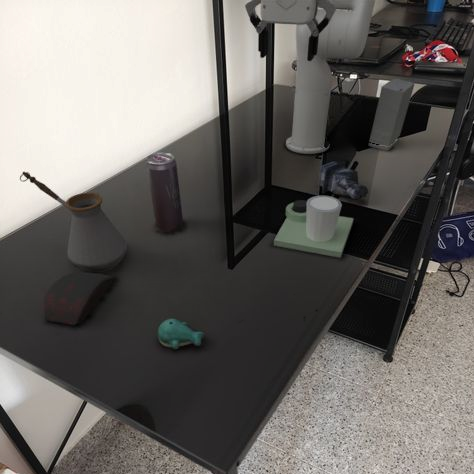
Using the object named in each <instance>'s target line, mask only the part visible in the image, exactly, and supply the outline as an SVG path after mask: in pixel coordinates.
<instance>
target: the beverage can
mask: <svg viewBox="0 0 474 474" xmlns="http://www.w3.org/2000/svg"><path fill="white" fill-rule="evenodd" d="M145 161H146V162H145V166H146V173H147V180H148V185H149V190H150V197H151V203H152V209H153V216H154V220H155V221H154V222H155V227H156V228H157V229H158V231H160V232H161V233H162V232H163V233H169V234H170V233H175V232H177V231H179V230H181V229H182V227H183V225H184V218H183V210H182V208H183V207H182V201H181V193H180V184H179V174H178V165H177V161H176V157H175V155H174V154H173V153H170V152H155V153H152V154H149V155H148V156H147V157H146V158H145Z"/></svg>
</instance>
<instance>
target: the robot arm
mask: <svg viewBox="0 0 474 474" xmlns="http://www.w3.org/2000/svg"><path fill="white" fill-rule="evenodd" d="M375 3H376V0H249V1H248V2H246V3H245V4H244V8H245V10H246V13H247V16H248V18H249V21H250V24H252V26H253V27H254V28H255V30H256V34H257V35H258V37H257V39H258V40H257V42H258V44H257V50H258V52H259V57H260V59H263V58H265V57H267V56H268V55H269V36H270V35H269V34H270V33H269V30H268V29H267V28H268V27H269V25H270V24H280V25H296V26H295V49H296V71H295V72H296V75H295V88H294V100H293V101H294V103H293V115H292V127H291V128H292V129H291V136H290V137H288V138H287V139H286V141H285V146H286V148H287V149H288V150H289V151H291V152H294V153H297V154H305V155H316V154H320V153H324V152H327V150H328V149H329V148H330V144H329V146H328V147H327V148H325V147H324V141H325V138H326V134H327V133H326V132H327V125H328V116H329V109H330V101H331V92H332V86H333V75H332V70H331V68H330V66H329V64H328V62H327V59H337V60H338V59H341V60H355V59H358V58H360V57H361V55H362V54H363V52H364V51H365V47H366V45H367V40H368V36H369V30H370V26H371V22H372V17H373V12H374V8H375ZM259 5H260V17H259V16H258V14H257V11H256V8H257V7H258V6H259Z"/></svg>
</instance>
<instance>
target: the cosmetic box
mask: <svg viewBox="0 0 474 474" xmlns="http://www.w3.org/2000/svg"><path fill="white" fill-rule="evenodd" d="M414 88H415V82H412V81H407V80H403V79H399V78H392V79H391V80H389V81H388V82H386V83H385V84H383V85H382V86H381V89H380V93H379V97H378V102H377V106H376V110H375V113H374V114H375V115H374V118H373V124H372V128H371V132H370V137H369V139H368V147H370V148H371V147H372V148H375V149H379V150H382V151H387V152H388V151H389V150H390V149H392V148H393V147H394V146H395V145H396V144H397V143H398V142H399V139H400V137H399V136H401V133H402V130H403V125H404V122H405V120H406V115H407V112H408V109H409V105H410V102H411V98H412V95H413V92H414ZM398 137H399V139H398V140H397V141H396V142H395V140H396V139H397V138H398ZM369 142H371V143H369ZM394 142H395V143H394ZM372 143H375V144H372ZM393 143H394V144H393ZM376 144H379V145H376ZM391 144H393V145H392V146H390V145H391ZM380 145H385V146H390V147H385V146H380Z"/></svg>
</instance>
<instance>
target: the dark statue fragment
mask: <svg viewBox="0 0 474 474" xmlns="http://www.w3.org/2000/svg"><path fill="white" fill-rule="evenodd" d="M346 164H347V161H345V160H344V161H341V162H338V163H337V161H330V162H328V163H325V164H322V165H320V166H319V175H318V183H317V184H318V187H322V191H321V192H322V194H325V193H328V192H331V193H332V194H334V195H338V196H342V197H346V198H347V197H351V198H352V199H353V200H357V201H362V200H365V199H366V198H367V197H368V195H369V189H368V187H367V186H366V185H362V184H360V182H359V174H358V170H354V169H350V168H347V167H346Z"/></svg>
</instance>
